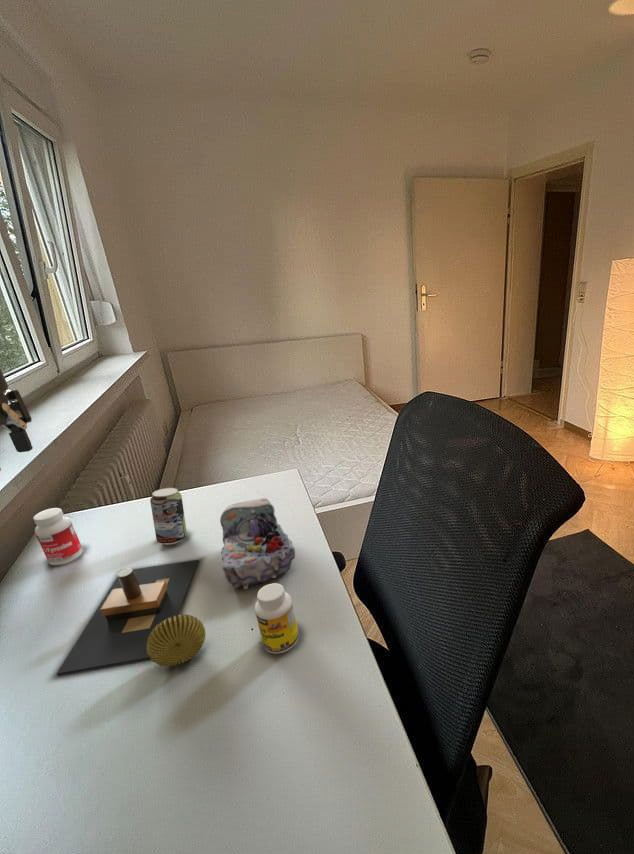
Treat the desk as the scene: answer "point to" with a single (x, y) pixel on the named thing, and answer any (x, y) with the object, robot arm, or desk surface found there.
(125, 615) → the brush
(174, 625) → the sculpture
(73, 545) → the pill bottle
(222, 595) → the desk surface
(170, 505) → the beverage can
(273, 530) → the cell model
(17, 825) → the desk surface
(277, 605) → the supplement bottle
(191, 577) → the mat
